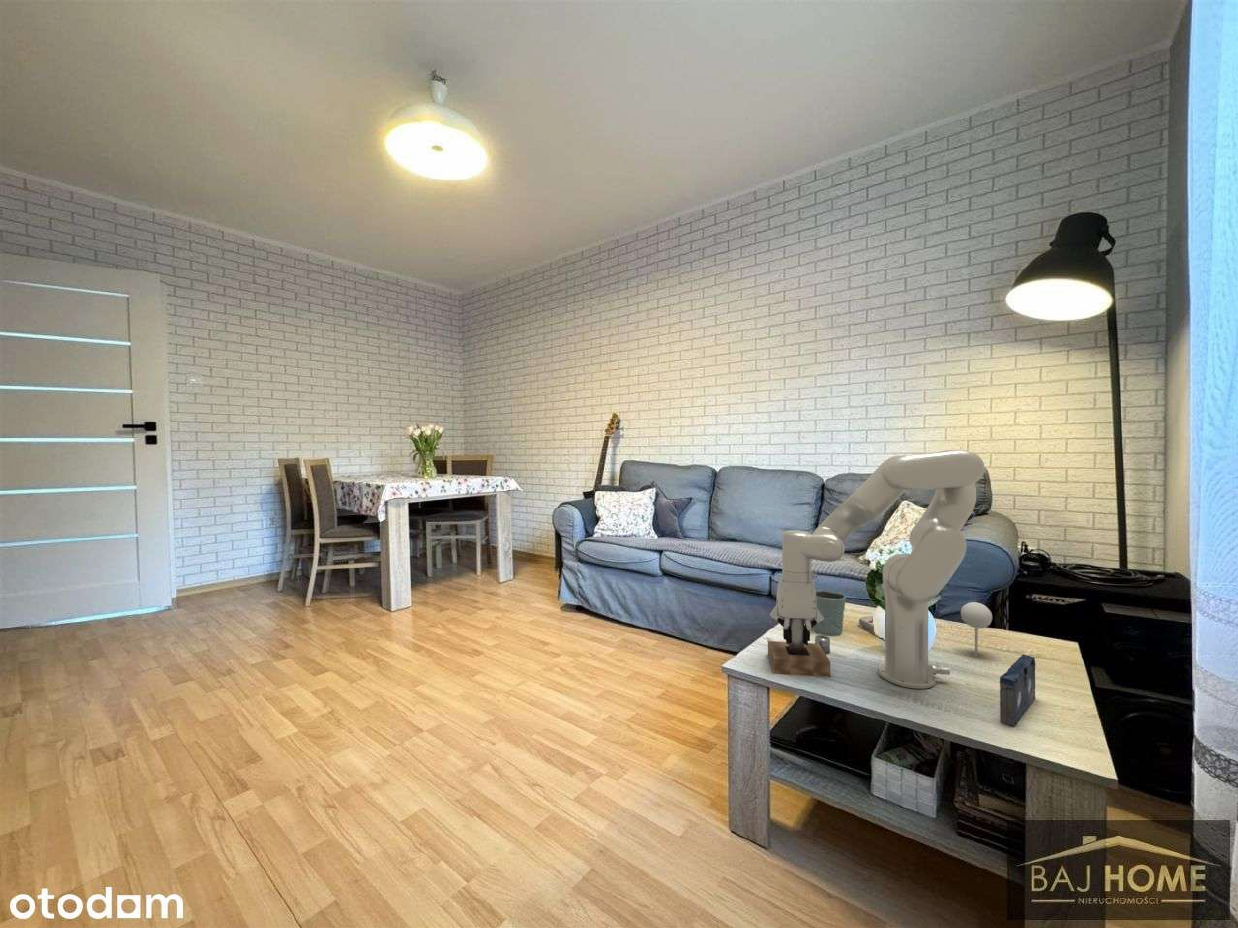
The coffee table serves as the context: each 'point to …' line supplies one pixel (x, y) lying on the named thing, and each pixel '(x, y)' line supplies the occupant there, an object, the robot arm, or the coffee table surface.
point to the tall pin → (796, 637)
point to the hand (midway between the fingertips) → (796, 641)
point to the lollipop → (976, 618)
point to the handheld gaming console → (867, 624)
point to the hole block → (799, 660)
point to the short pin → (823, 643)
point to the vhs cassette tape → (1017, 690)
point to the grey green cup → (830, 612)
